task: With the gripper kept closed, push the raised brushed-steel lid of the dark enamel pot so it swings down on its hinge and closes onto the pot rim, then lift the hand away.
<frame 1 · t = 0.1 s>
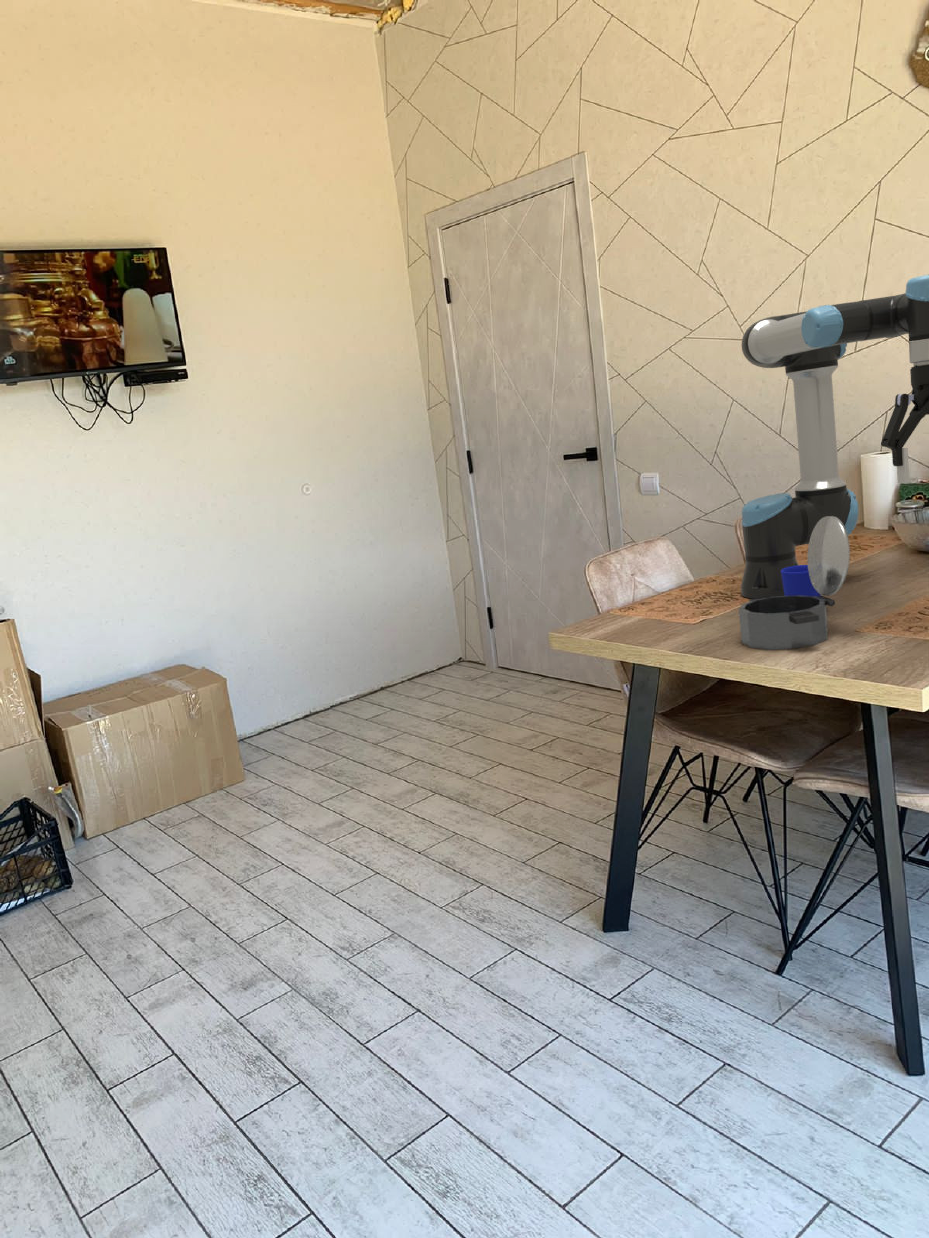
pot: (784, 638, 187), on the table
lid: (829, 556, 184), point 15 cm above the table, hinge at 100.0°
mug: (804, 612, 206), on the table
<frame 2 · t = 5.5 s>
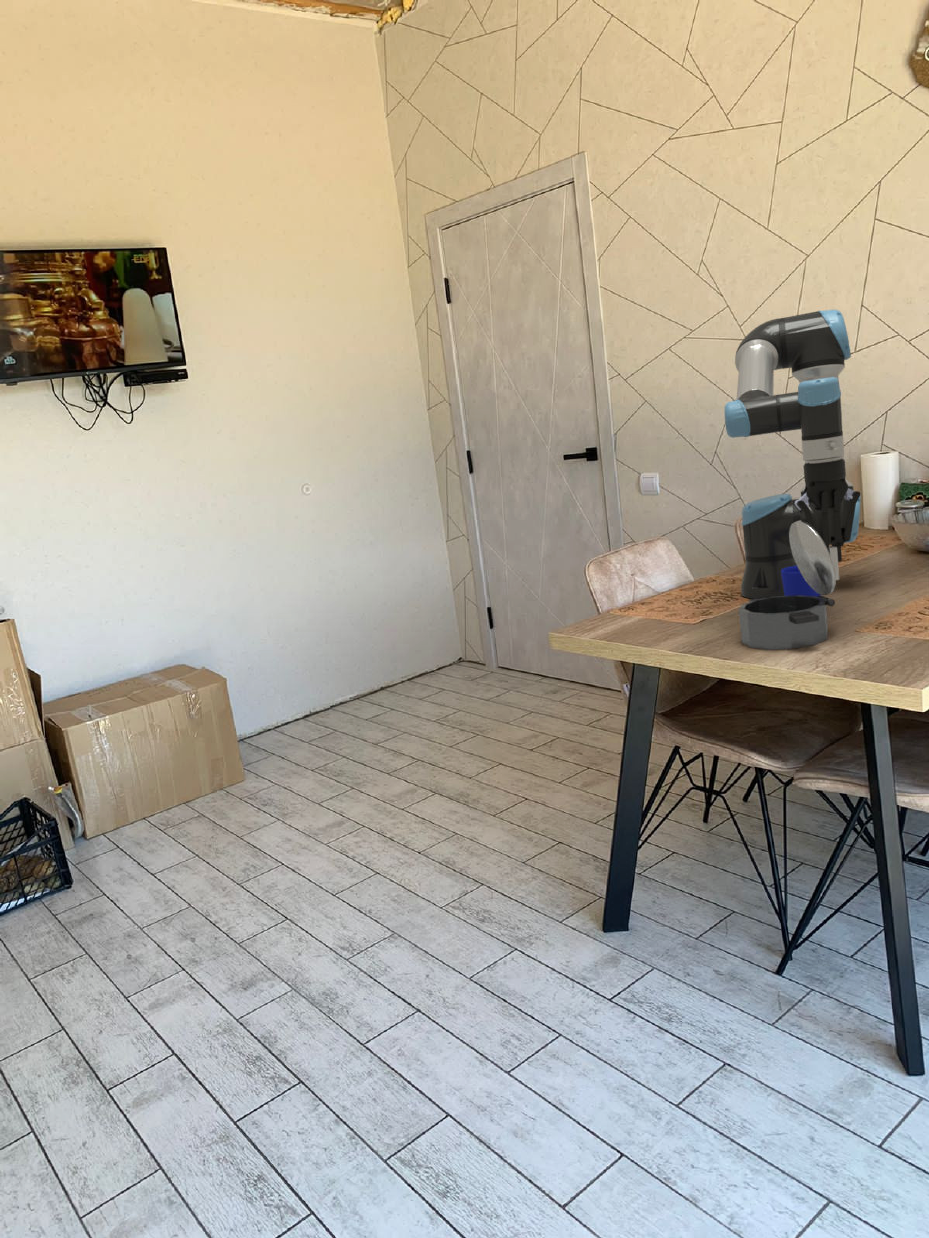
hand: (832, 579, 185), 10 cm above the table, fingers closed
lid: (813, 557, 184), point 15 cm above the table, hinge at 76.9°, touching gripper
everything else where it was.
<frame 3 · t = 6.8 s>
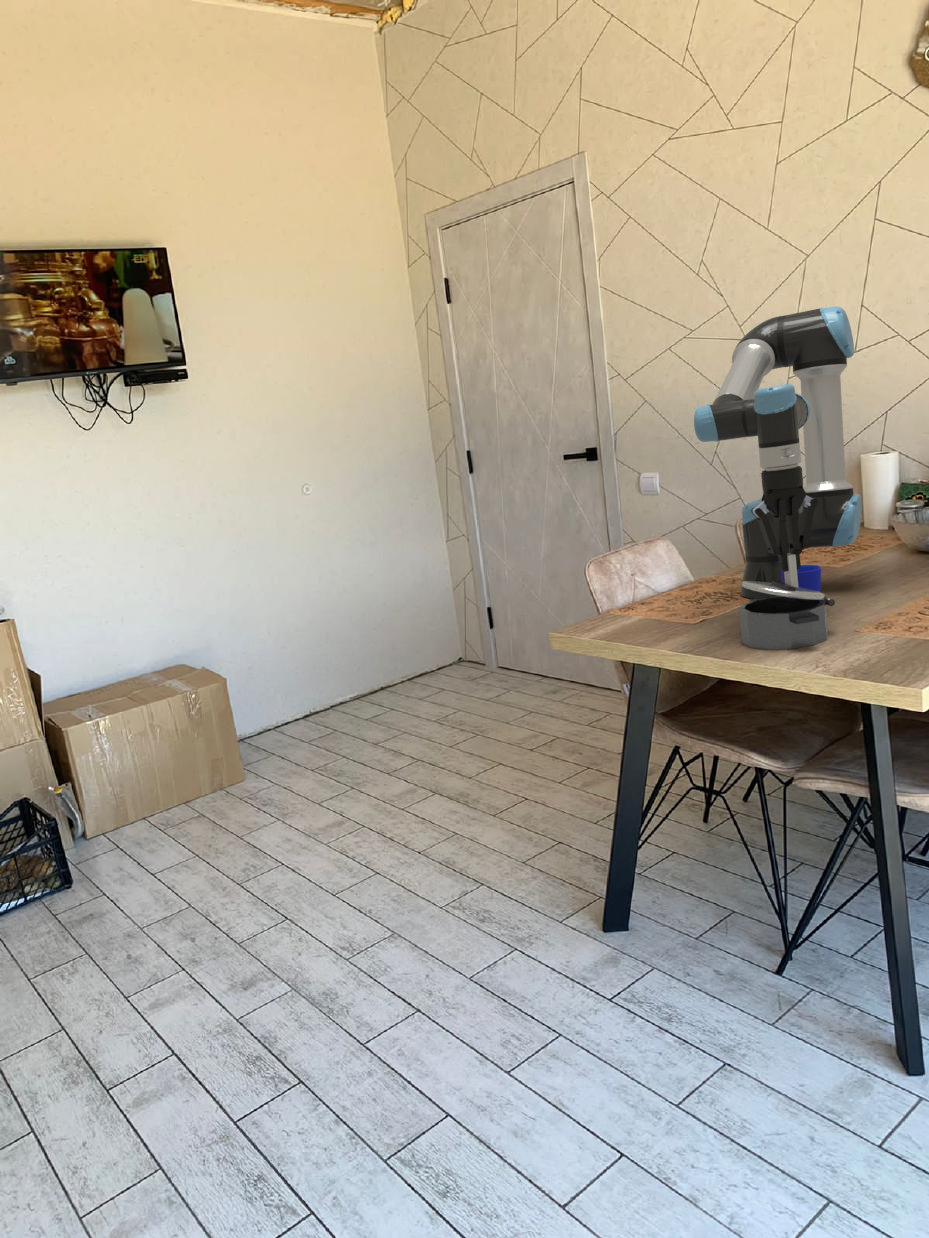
hand: (791, 586, 185), 10 cm above the table, fingers closed
lid: (783, 588, 185), point 10 cm above the table, hinge at 15.5°, touching gripper
everything else where it was.
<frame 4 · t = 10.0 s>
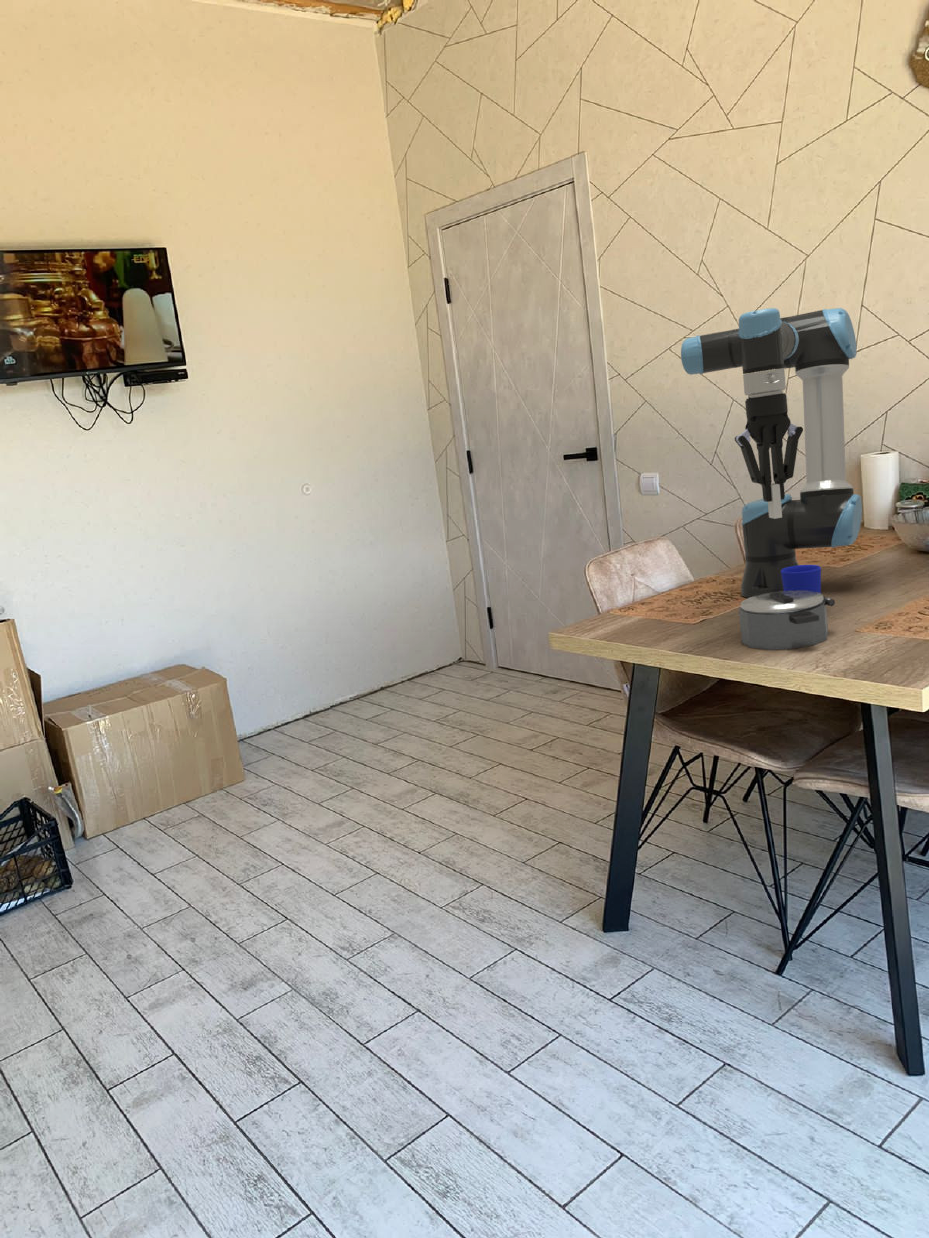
hand: (775, 517, 182), 24 cm above the table, fingers closed
lid: (781, 599, 185), point 8 cm above the table, hinge at -1.1°, touching pot
everything else where it was.
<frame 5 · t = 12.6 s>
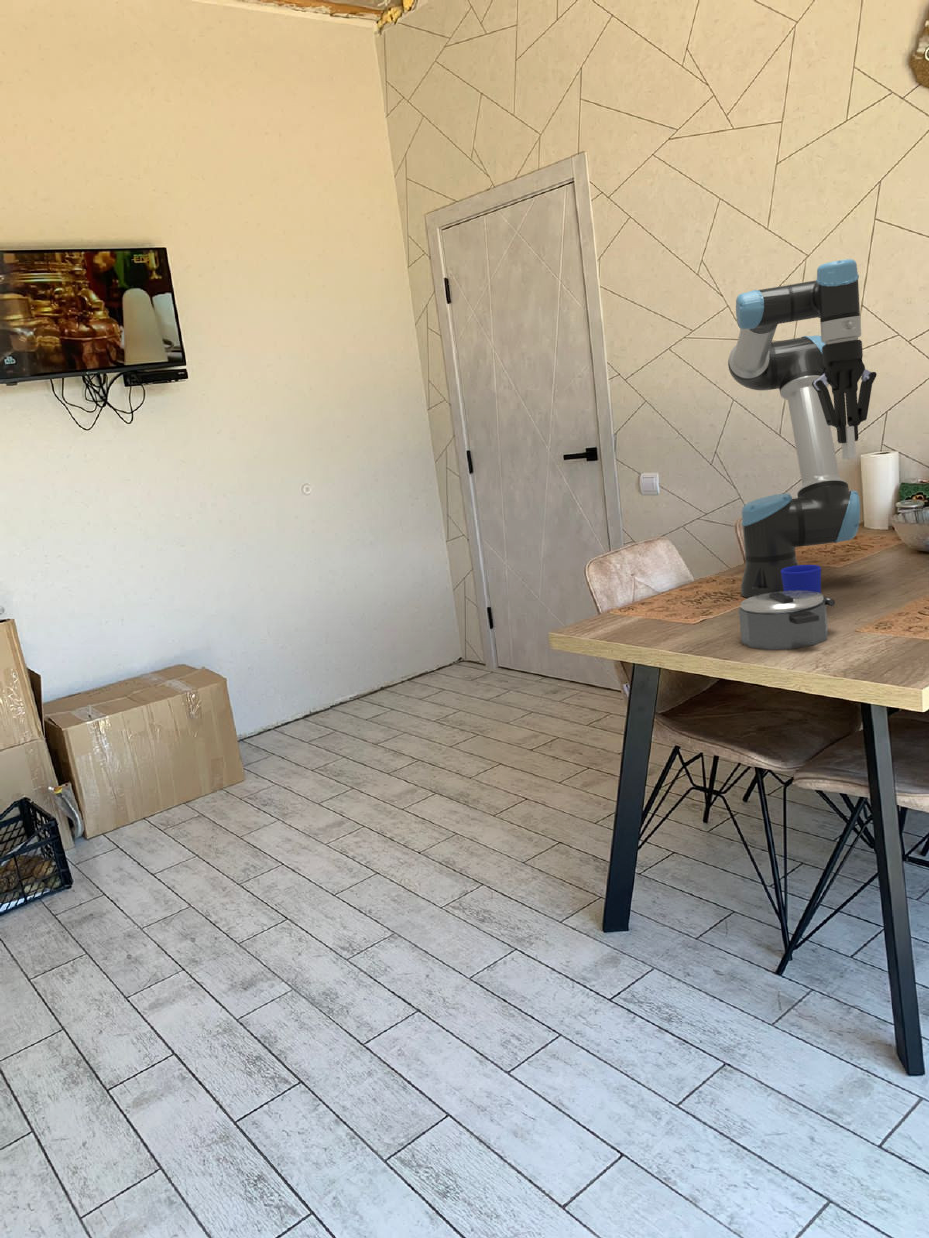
hand: (849, 458, 194), 32 cm above the table, fingers closed
nothing on the table moved.
at the end: lid at -1° (first picture: +100°) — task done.
